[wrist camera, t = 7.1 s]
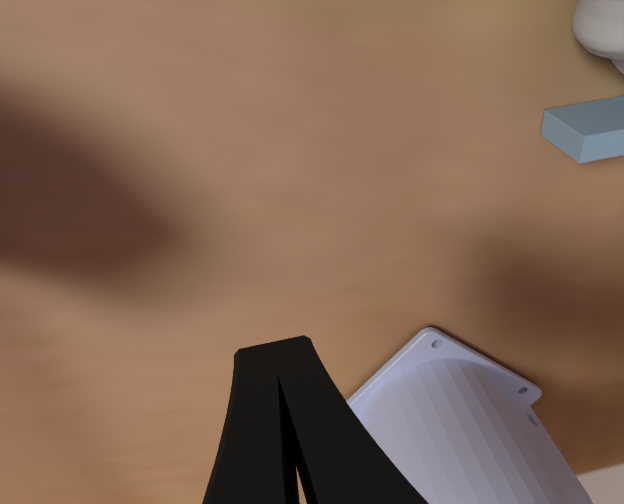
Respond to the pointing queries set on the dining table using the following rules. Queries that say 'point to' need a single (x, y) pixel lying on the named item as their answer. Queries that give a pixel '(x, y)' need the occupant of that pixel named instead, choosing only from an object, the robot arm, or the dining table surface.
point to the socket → (587, 129)
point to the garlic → (601, 28)
